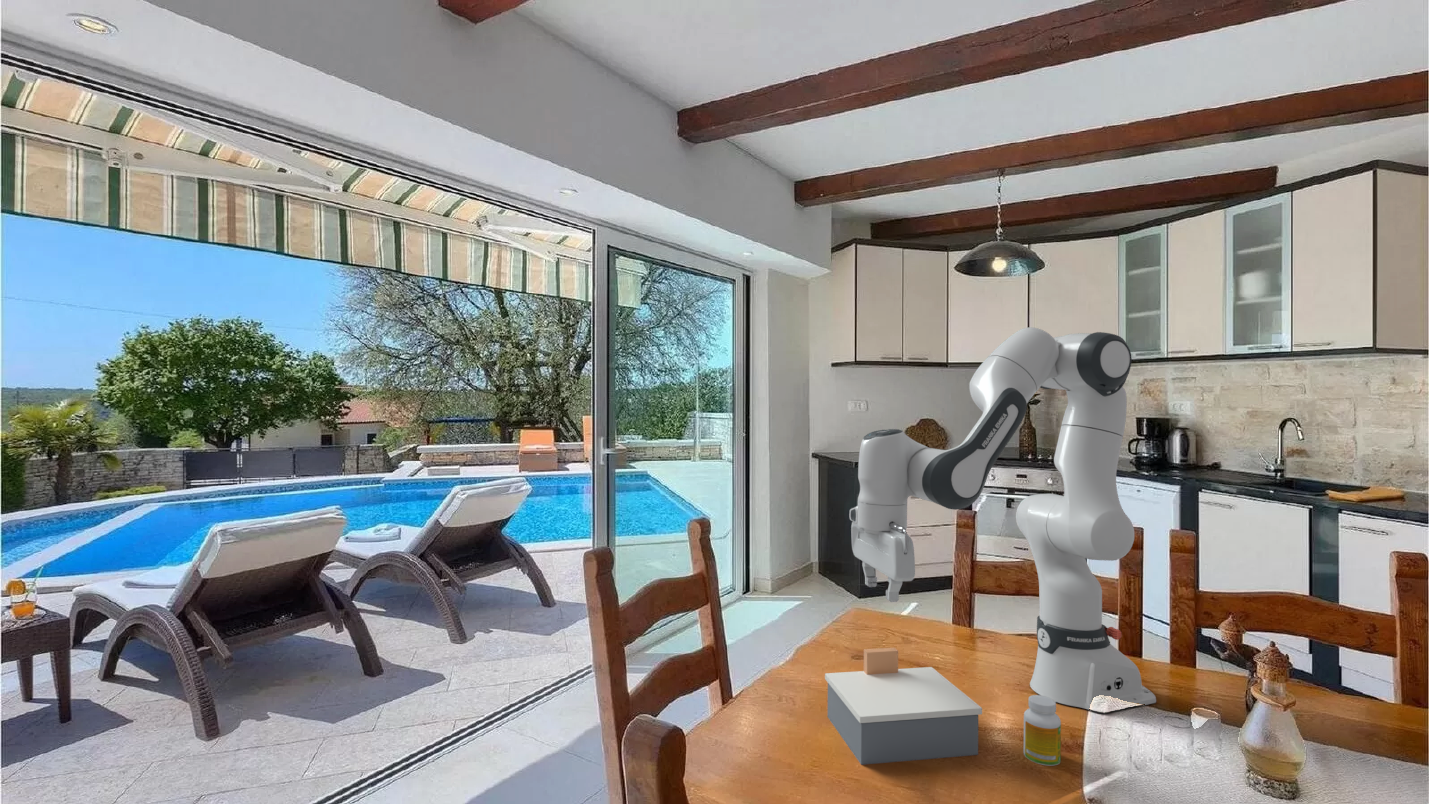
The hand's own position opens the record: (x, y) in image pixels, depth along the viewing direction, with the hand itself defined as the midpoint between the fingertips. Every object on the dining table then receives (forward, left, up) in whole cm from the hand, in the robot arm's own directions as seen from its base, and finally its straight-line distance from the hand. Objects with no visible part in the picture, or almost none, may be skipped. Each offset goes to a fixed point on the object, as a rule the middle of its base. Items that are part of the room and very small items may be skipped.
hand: (881, 593), depth 120 cm
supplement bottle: (-20, +18, -23) cm, 35 cm away
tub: (0, +8, -23) cm, 24 cm away
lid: (0, +8, -15) cm, 17 cm away
